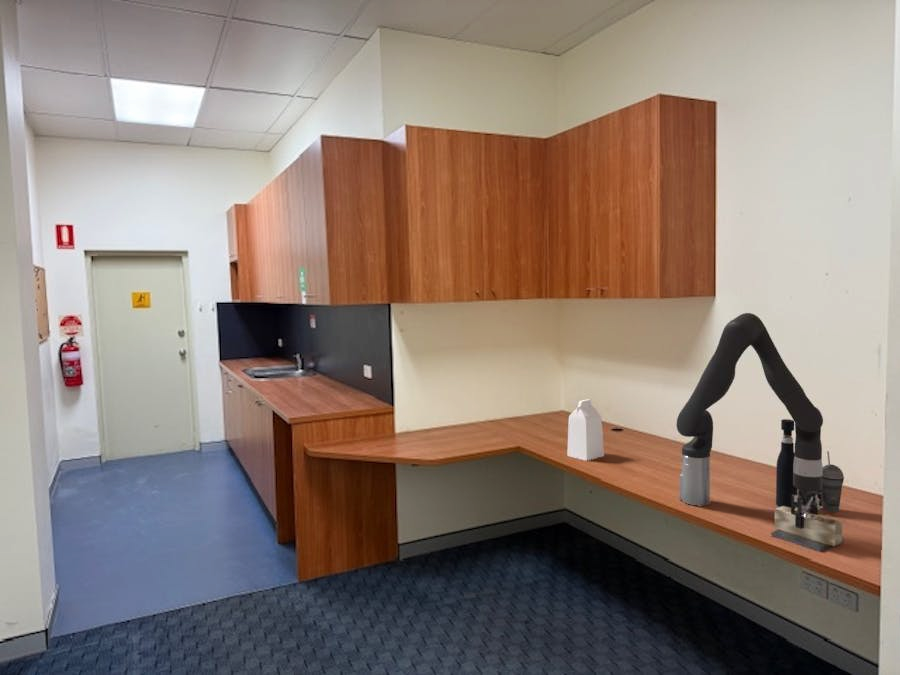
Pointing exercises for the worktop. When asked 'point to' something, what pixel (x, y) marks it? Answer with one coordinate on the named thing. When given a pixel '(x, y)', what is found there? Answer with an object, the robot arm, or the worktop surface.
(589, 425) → the milk
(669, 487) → the worktop surface
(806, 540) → the mounting plate
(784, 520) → the bar
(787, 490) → the wine bottle
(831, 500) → the grey tapered rounded cylinder
